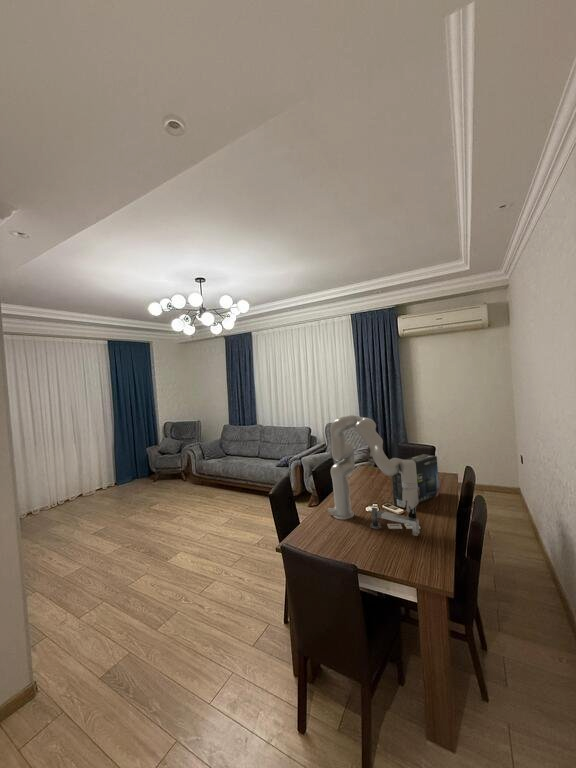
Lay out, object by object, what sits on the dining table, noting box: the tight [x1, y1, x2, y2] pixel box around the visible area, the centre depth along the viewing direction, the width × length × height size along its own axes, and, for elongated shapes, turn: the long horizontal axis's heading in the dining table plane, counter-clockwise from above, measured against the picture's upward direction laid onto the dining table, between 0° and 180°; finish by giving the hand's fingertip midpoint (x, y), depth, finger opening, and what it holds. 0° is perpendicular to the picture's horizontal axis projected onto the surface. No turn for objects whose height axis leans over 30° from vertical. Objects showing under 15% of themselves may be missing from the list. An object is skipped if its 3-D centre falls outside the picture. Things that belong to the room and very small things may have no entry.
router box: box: [391, 453, 440, 510], centre depth 198 cm, size 36×11×27 cm, turn 123°
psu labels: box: [387, 523, 421, 530], centre depth 163 cm, size 16×5×1 cm, turn 81°
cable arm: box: [377, 509, 421, 537], centre depth 158 cm, size 20×4×7 cm, turn 50°
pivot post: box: [369, 506, 382, 530], centre depth 166 cm, size 6×6×10 cm
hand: (412, 520), depth 157 cm, fingers closed
